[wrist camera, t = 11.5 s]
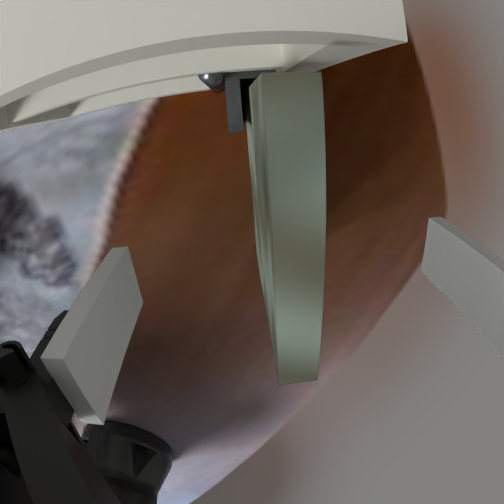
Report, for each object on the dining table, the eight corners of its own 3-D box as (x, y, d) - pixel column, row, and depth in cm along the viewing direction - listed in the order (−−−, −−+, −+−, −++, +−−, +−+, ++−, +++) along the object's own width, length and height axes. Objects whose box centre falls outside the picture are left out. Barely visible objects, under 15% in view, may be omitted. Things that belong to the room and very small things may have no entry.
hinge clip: (290, 121, 23) (322, 130, 15) (213, 127, 23) (203, 139, 15) (286, 73, 21) (317, 55, 13) (209, 78, 21) (196, 62, 13)
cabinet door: (289, 256, 28) (332, 377, 15) (257, 259, 28) (278, 385, 15) (281, 90, 22) (344, 72, 9) (243, 92, 22) (261, 72, 9)
